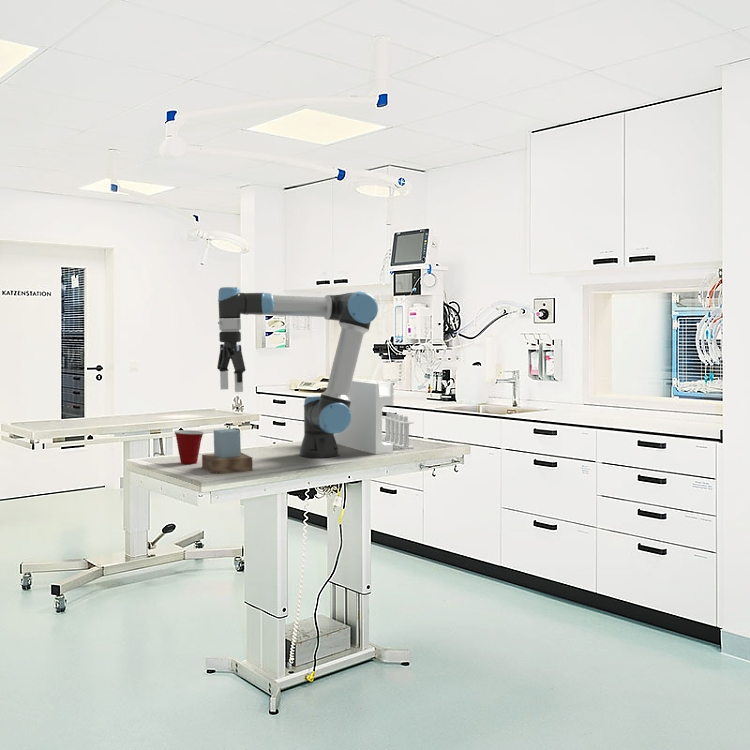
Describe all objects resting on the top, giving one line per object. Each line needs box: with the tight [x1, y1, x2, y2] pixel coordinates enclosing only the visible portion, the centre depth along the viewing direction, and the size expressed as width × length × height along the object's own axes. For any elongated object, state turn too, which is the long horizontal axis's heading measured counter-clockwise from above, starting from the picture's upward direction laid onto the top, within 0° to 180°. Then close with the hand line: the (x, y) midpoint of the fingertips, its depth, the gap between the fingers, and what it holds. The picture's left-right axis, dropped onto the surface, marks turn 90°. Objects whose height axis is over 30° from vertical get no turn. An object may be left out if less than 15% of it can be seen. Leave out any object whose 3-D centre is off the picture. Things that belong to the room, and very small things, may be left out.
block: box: [334, 377, 395, 456], centre depth 334 cm, size 35×8×28 cm, turn 31°
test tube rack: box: [382, 411, 415, 450], centre depth 344 cm, size 25×4×13 cm, turn 23°
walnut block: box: [201, 452, 253, 475], centre depth 284 cm, size 14×14×5 cm
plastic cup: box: [173, 429, 205, 465], centre depth 296 cm, size 11×11×12 cm
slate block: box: [213, 428, 242, 458], centre depth 284 cm, size 7×7×9 cm
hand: (231, 390), depth 287 cm, fingers open, 13 cm apart
